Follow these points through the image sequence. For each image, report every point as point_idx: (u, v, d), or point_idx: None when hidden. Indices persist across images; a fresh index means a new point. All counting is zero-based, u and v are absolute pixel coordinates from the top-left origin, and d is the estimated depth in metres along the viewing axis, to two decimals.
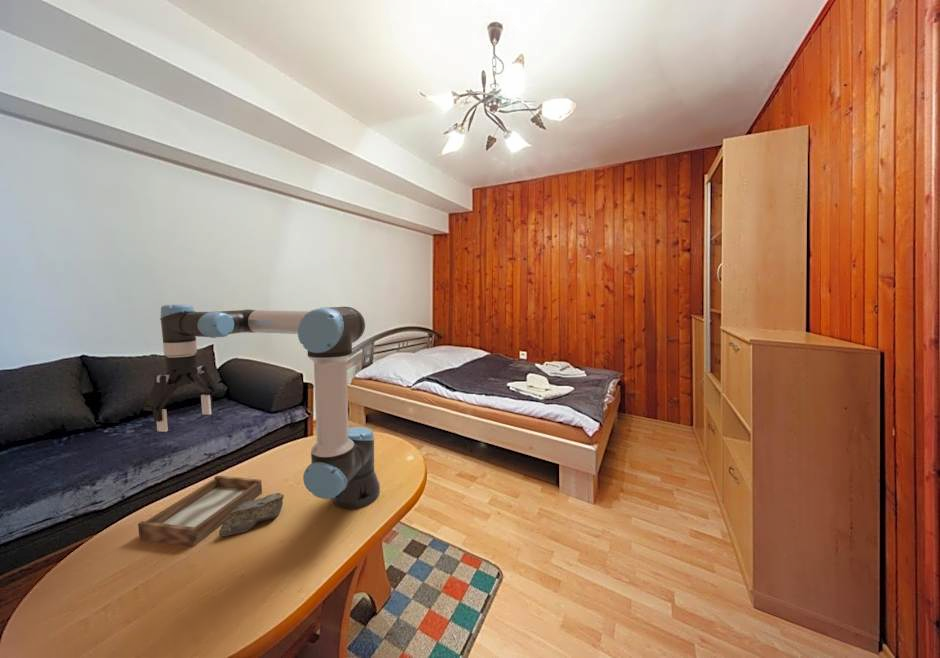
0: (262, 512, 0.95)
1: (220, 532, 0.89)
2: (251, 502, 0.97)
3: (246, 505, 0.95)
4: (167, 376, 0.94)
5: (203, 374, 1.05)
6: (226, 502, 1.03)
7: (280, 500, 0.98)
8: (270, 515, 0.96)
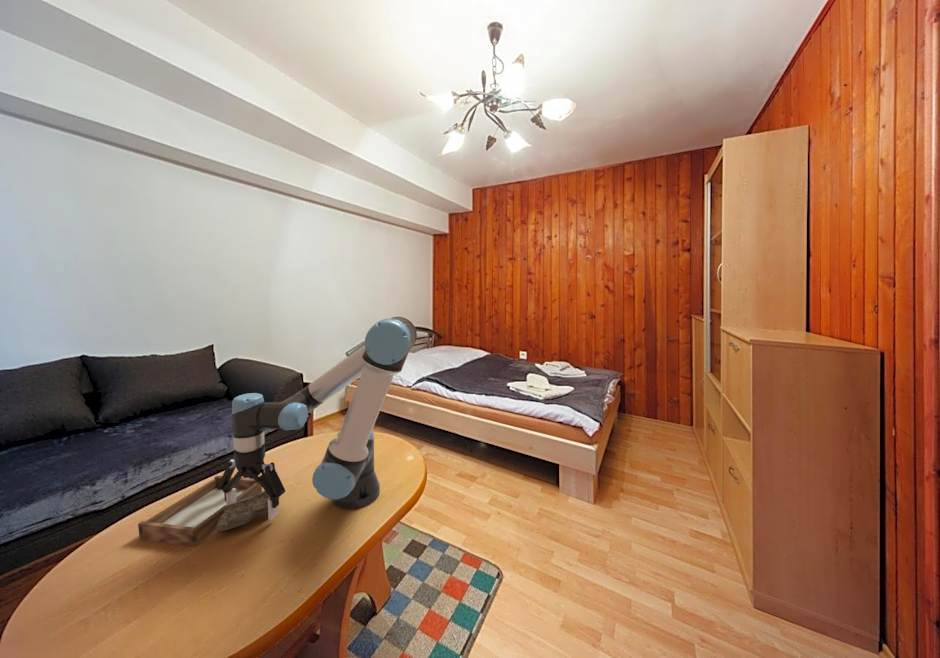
0: (257, 504, 0.95)
1: (217, 527, 0.89)
2: (246, 498, 0.98)
3: (241, 500, 0.96)
4: (234, 463, 0.95)
5: None
6: None
7: None
8: (266, 506, 0.96)
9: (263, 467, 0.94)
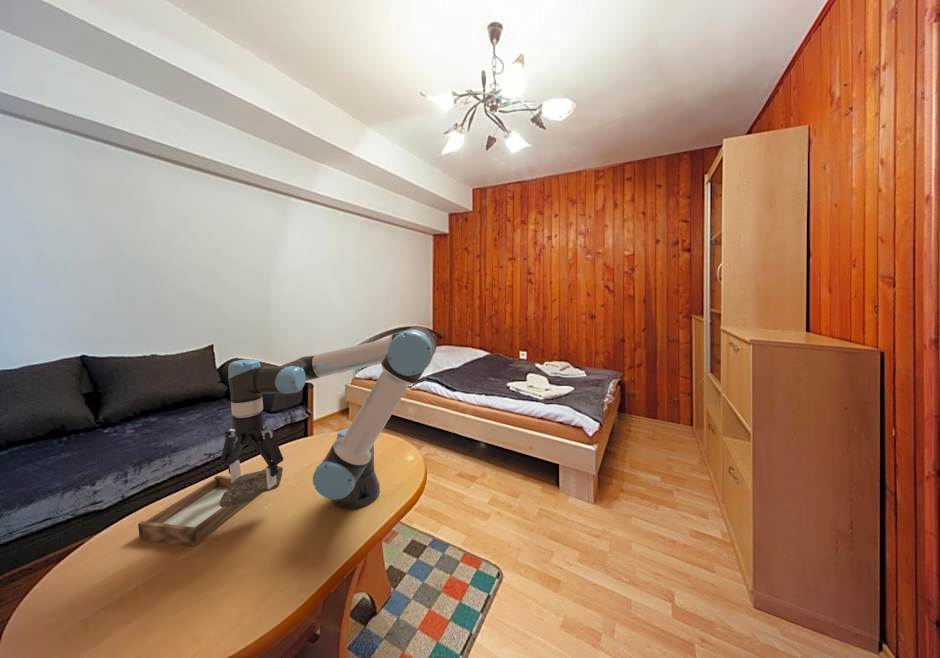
0: (262, 483, 0.94)
1: (220, 503, 0.88)
2: (250, 474, 0.96)
3: (245, 477, 0.94)
4: (233, 431, 0.94)
5: None
6: None
7: (280, 471, 0.98)
8: None
9: (263, 434, 0.93)
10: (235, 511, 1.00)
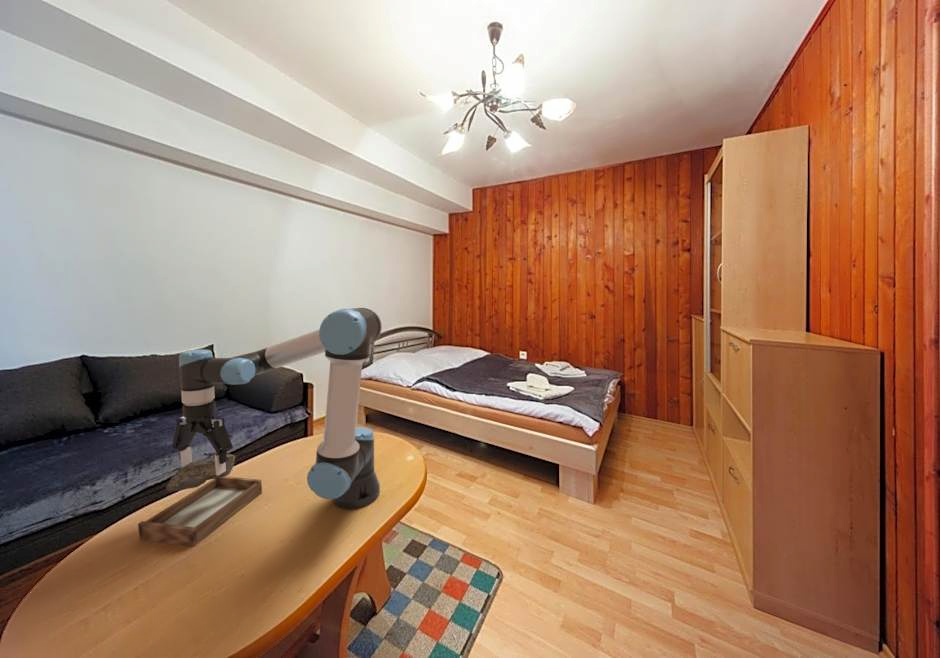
0: (211, 470, 0.97)
1: (167, 487, 0.91)
2: (200, 461, 0.99)
3: (195, 463, 0.97)
4: (185, 419, 0.97)
5: None
6: (226, 502, 1.03)
7: (231, 459, 1.01)
8: None
9: (212, 422, 0.95)
10: (235, 511, 1.00)
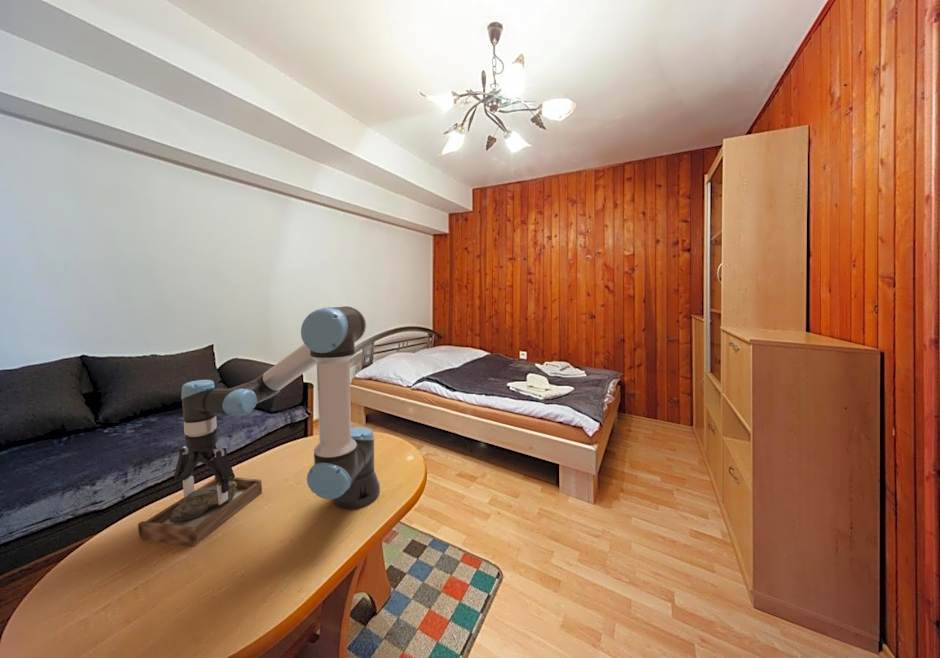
0: (213, 499, 0.98)
1: (170, 518, 0.92)
2: (203, 490, 1.00)
3: (197, 492, 0.98)
4: (187, 449, 0.98)
5: None
6: None
7: (232, 487, 1.02)
8: None
9: (215, 452, 0.96)
10: (235, 511, 1.00)
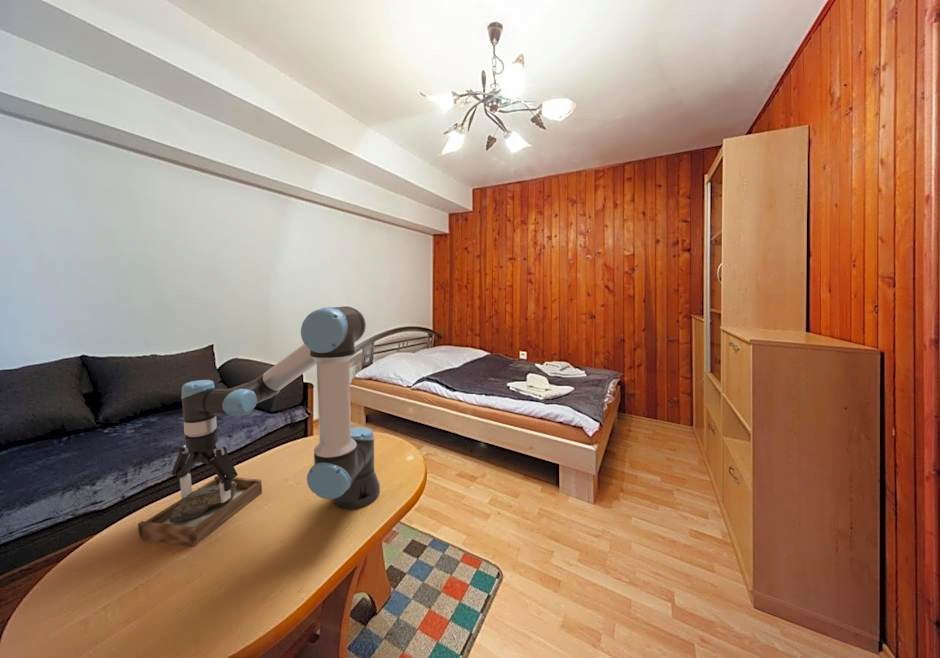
0: (213, 499, 0.98)
1: (170, 518, 0.92)
2: (202, 490, 1.00)
3: (197, 492, 0.98)
4: (187, 448, 0.98)
5: None
6: None
7: (232, 487, 1.02)
8: None
9: (215, 451, 0.96)
10: (235, 511, 1.00)
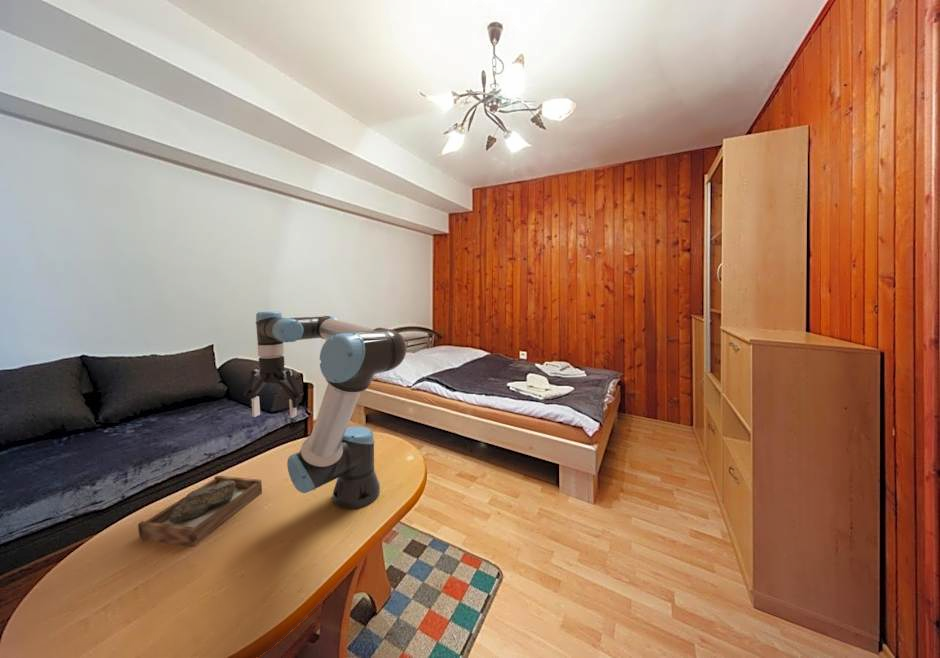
0: (213, 498, 0.98)
1: (170, 518, 0.92)
2: (202, 489, 1.00)
3: (197, 492, 0.98)
4: (258, 372, 1.11)
5: None
6: None
7: (232, 486, 1.02)
8: (222, 500, 0.99)
9: (284, 373, 1.10)
10: (235, 511, 1.00)
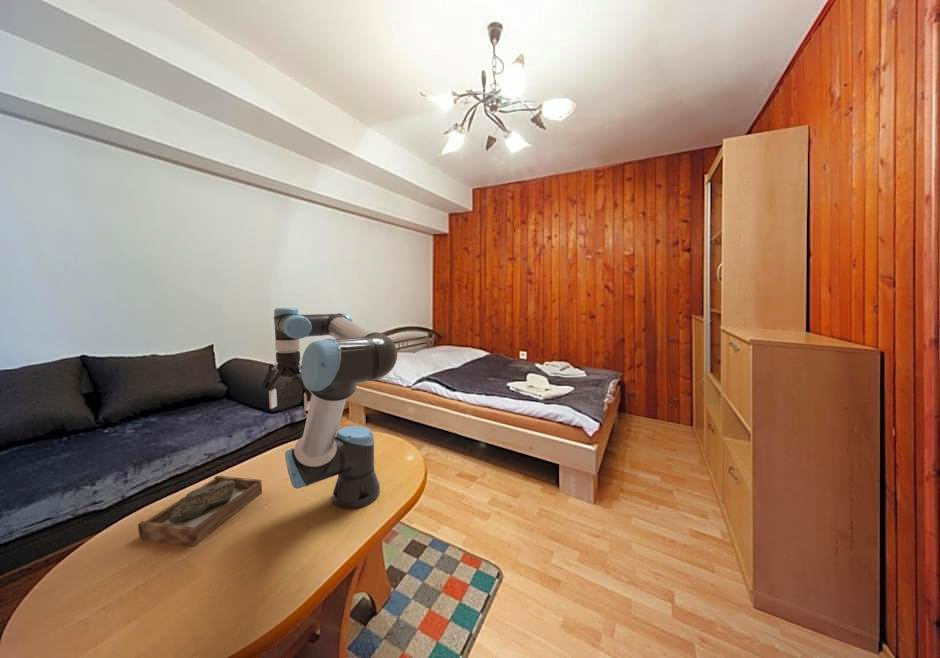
0: (213, 498, 0.98)
1: (170, 518, 0.92)
2: (201, 489, 1.00)
3: (196, 492, 0.98)
4: (275, 365, 1.15)
5: None
6: (226, 502, 1.03)
7: (231, 486, 1.03)
8: (222, 500, 1.00)
9: (299, 367, 1.14)
10: (235, 511, 1.00)
